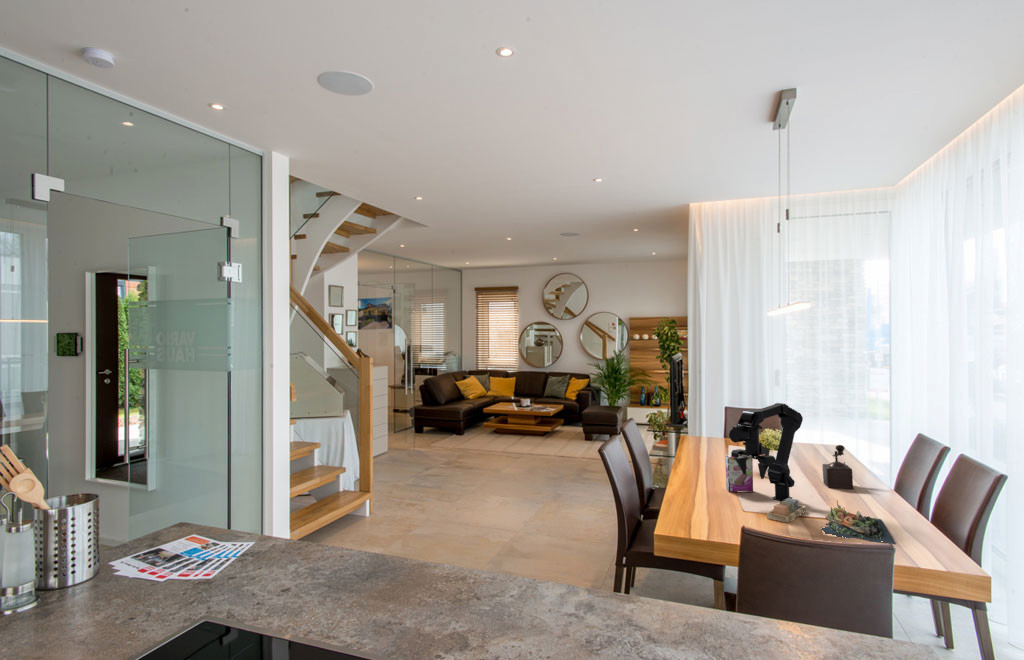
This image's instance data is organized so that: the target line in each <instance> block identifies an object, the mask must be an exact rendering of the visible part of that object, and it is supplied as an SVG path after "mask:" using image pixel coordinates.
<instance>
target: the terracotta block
mask: <svg viewBox="0 0 1024 660" xmlns="http://www.w3.org/2000/svg"><path fill="white" fill-rule="evenodd" d="M773 509H774V514H778V515H783V516H788V515H789V507H788V506H787V505H782V504H779V503H777V504H775V505H774V506H773Z"/></svg>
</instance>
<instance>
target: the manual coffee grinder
mask: <svg viewBox="0 0 1024 660" xmlns="http://www.w3.org/2000/svg"><path fill="white" fill-rule="evenodd" d="M845 449H846V448H845V446H844V445H841V444H838V445H836V446H835V450H836V451H834V454H832V457H835V459H834V461H833V462H830V463H822V466H821V467H822V478H823V484H824V485H825V486H826V487H827V488H829V489H840V490H841V489H842V490H843V489H844V490H854V483H853V482H854V481H853V477H854V476H853V469H852V468H851V467H850V466H849V465H848V464H846V462H845V461H844V462H841V461H838V459H839V458H838V457H839V456H840V457H842V456H843V455H845V454H844V451H845Z"/></svg>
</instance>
